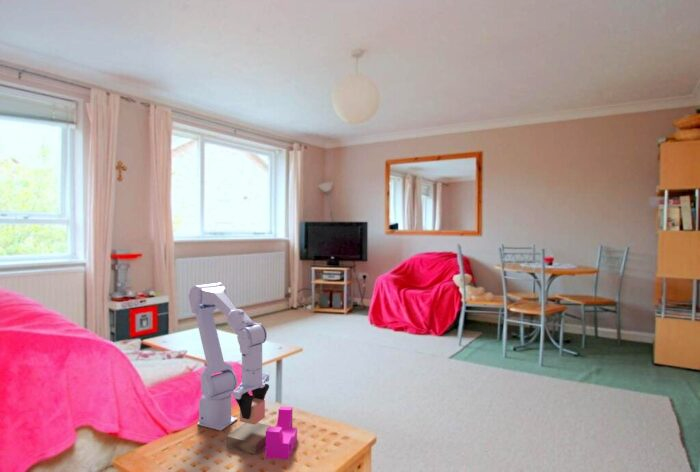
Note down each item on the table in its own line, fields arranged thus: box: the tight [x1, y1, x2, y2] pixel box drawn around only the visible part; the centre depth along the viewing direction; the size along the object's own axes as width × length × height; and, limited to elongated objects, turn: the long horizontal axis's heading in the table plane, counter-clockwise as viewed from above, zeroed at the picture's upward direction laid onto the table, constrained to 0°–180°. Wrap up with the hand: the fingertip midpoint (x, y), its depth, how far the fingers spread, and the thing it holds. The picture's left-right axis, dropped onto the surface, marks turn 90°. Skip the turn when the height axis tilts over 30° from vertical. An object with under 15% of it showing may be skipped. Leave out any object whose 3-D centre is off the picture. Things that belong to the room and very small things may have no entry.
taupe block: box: [226, 422, 275, 455], centre depth 120 cm, size 10×10×3 cm
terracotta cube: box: [239, 398, 266, 425], centre depth 120 cm, size 5×5×5 cm
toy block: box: [265, 406, 298, 460], centre depth 119 cm, size 15×6×8 cm, turn 174°
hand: (252, 413), depth 120 cm, fingers closed on terracotta cube, 5 cm apart
